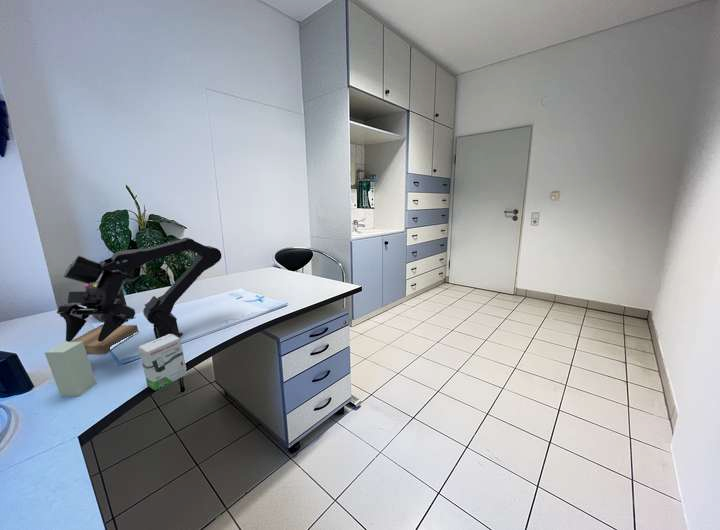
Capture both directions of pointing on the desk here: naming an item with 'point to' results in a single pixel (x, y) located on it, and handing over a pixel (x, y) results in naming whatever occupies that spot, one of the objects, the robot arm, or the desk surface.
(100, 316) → the tampon box
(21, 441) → the desk surface
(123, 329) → the walnut base board
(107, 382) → the desk surface
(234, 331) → the desk surface
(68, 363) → the sage block
